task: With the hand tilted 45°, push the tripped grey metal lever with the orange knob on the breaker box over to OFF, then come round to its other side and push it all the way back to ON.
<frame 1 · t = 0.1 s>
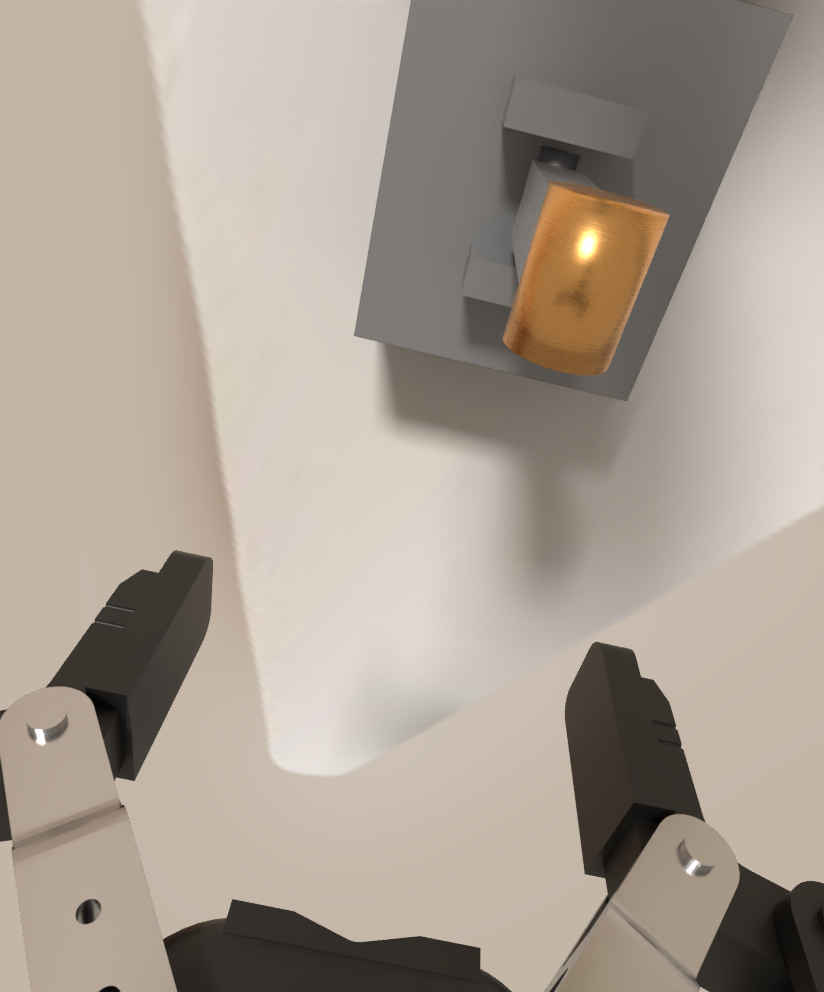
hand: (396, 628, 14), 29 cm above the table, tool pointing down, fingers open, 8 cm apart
breaker box: (531, 175, 35), on the table
breaker lever: (559, 235, 22), point 16 cm above the table, hinge at 0.0°
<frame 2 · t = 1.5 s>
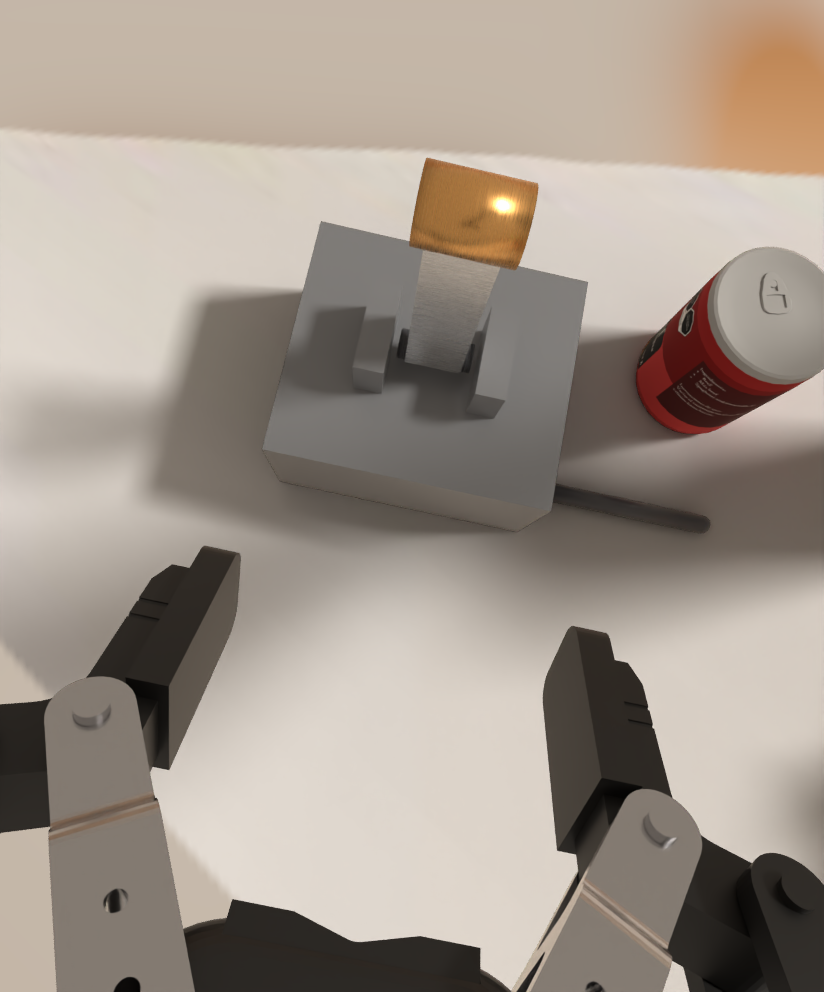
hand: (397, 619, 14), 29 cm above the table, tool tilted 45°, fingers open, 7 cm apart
breaker box: (420, 407, 45), on the table
canned food: (683, 384, 47), on the table
breaker lever: (451, 292, 29), point 16 cm above the table, hinge at 0.0°
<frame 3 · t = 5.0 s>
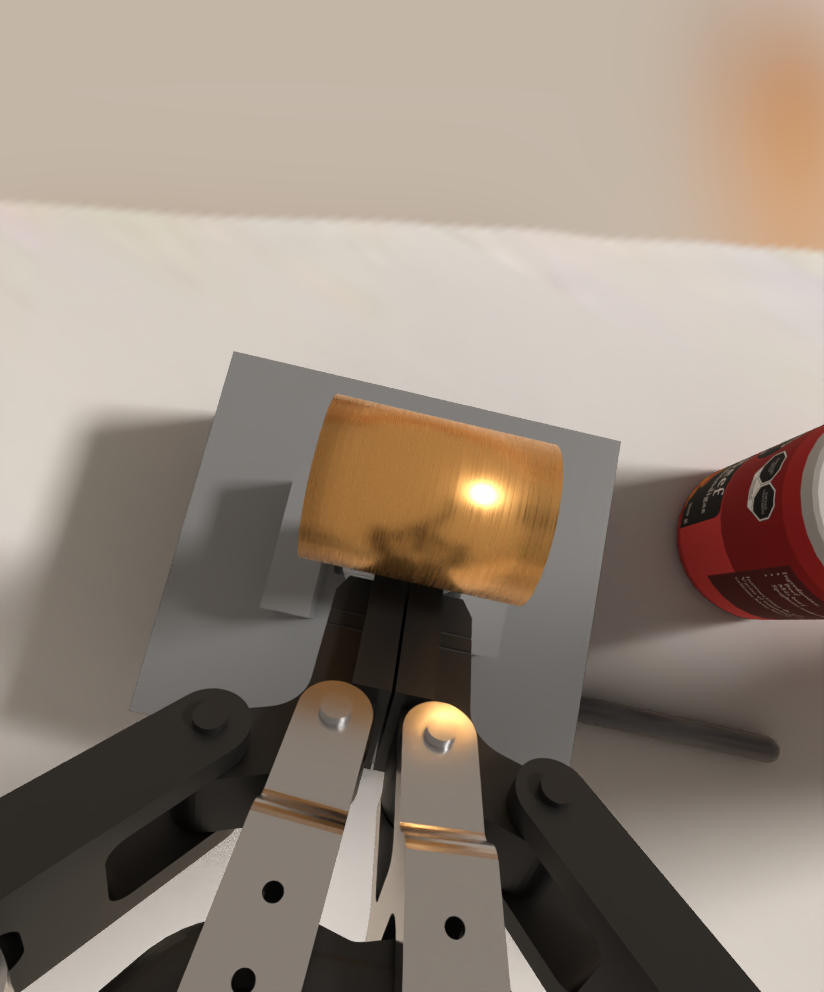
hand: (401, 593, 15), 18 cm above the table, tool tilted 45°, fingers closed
breaker box: (383, 580, 33), on the table
canned food: (739, 543, 35), on the table
breaker lever: (405, 540, 17), point 16 cm above the table, hinge at -0.3°, touching gripper
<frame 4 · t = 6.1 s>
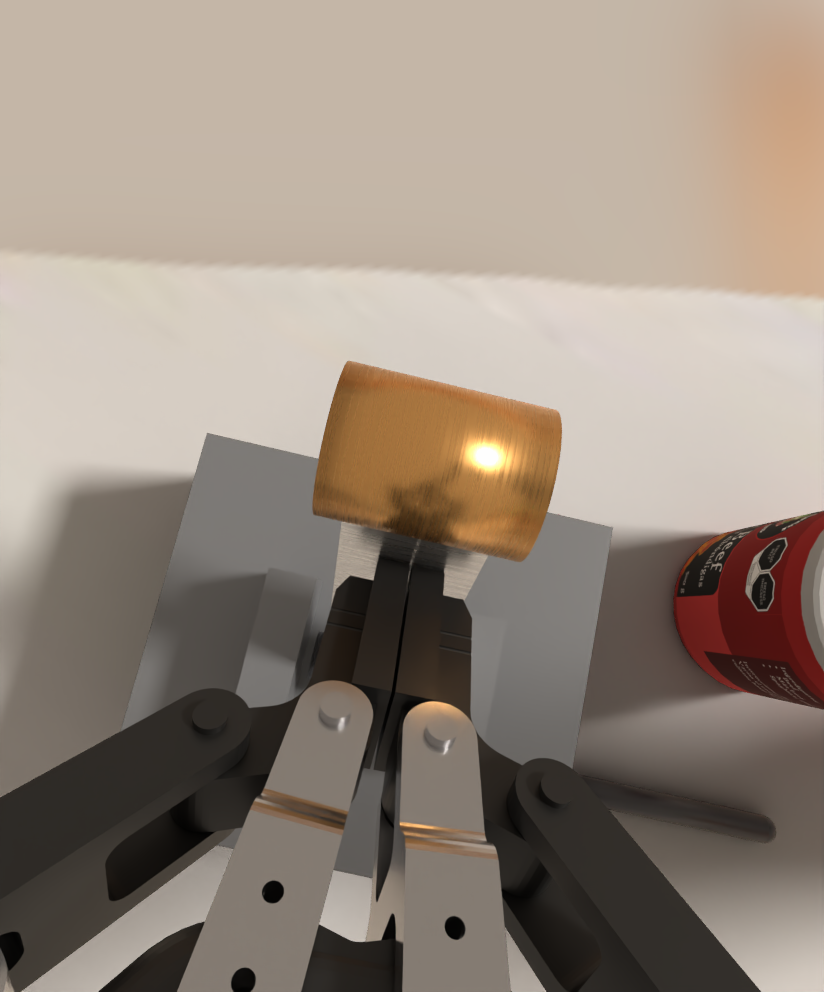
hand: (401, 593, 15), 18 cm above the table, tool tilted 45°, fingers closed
breaker box: (368, 650, 32), on the table
canned food: (738, 610, 34), on the table
breaker lever: (395, 588, 17), point 15 cm above the table, hinge at -23.8°, touching gripper
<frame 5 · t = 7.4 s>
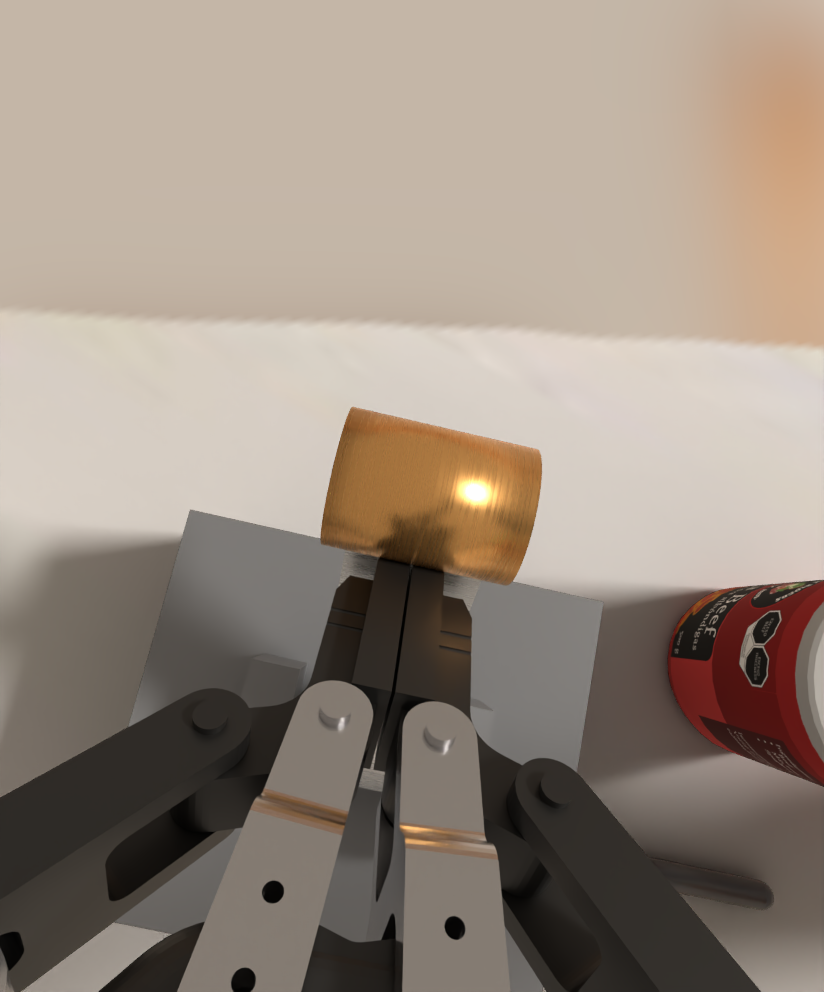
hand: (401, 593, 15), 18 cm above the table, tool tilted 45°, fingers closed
breaker box: (358, 714, 31), on the table
canned food: (733, 667, 33), on the table
breaker lever: (386, 647, 18), point 15 cm above the table, hinge at -37.4°, touching gripper
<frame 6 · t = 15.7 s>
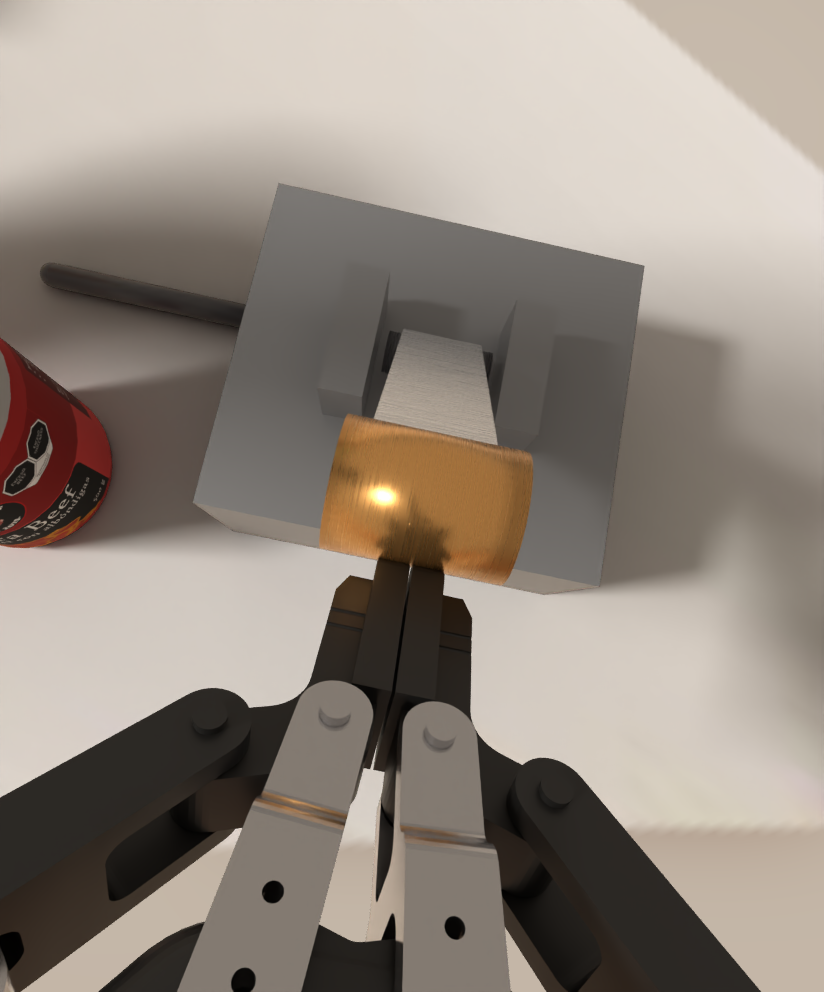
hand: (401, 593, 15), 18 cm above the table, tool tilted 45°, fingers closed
breaker box: (416, 432, 35), on the table
canned food: (40, 471, 33), on the table
breaker lever: (431, 416, 20), point 15 cm above the table, hinge at -37.2°, touching gripper
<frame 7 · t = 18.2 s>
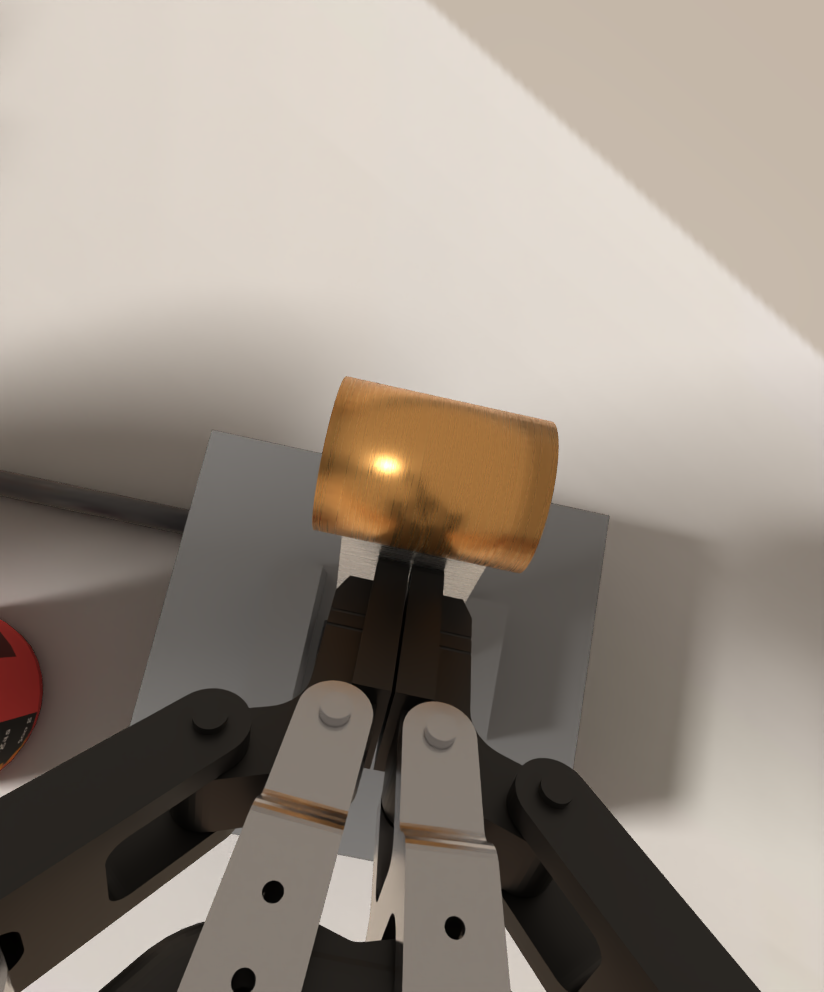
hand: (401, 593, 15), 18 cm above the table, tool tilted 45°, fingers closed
breaker box: (371, 645, 32), on the table
breaker lever: (397, 585, 18), point 16 cm above the table, hinge at 19.0°, touching gripper
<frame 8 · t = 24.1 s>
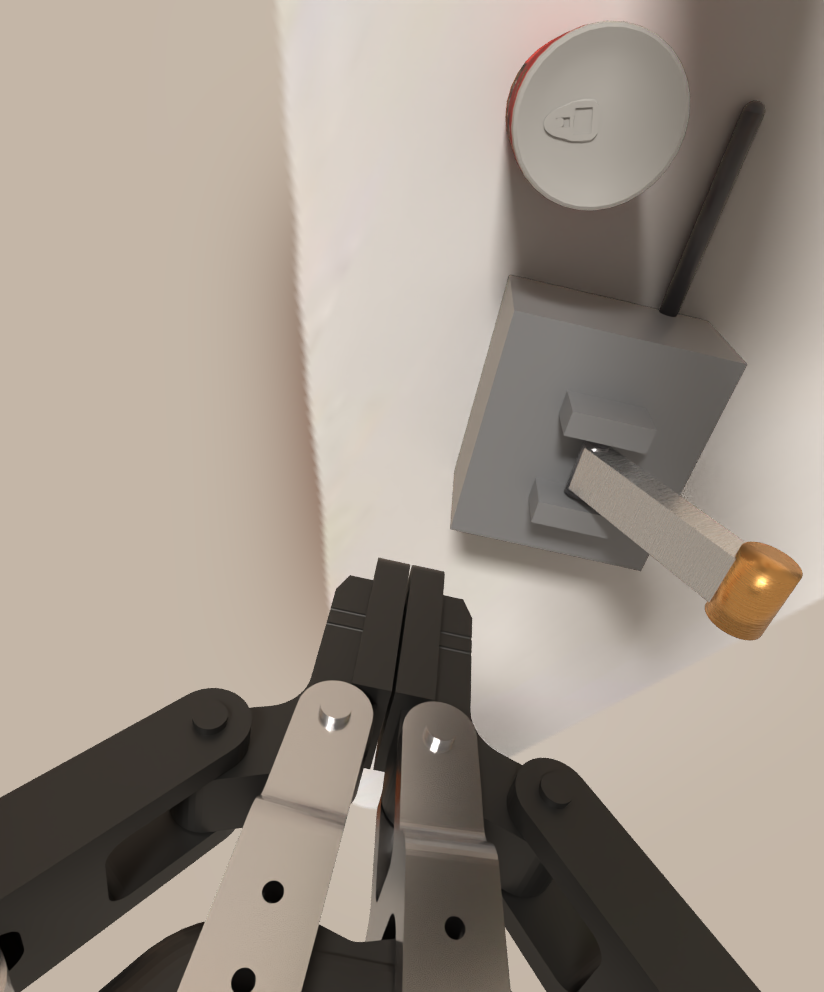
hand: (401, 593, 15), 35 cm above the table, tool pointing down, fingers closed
breaker box: (570, 402, 49), on the table
canned food: (572, 110, 39), on the table
breaker lever: (665, 525, 37), point 15 cm above the table, hinge at 37.6°
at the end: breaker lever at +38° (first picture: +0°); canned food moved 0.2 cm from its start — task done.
